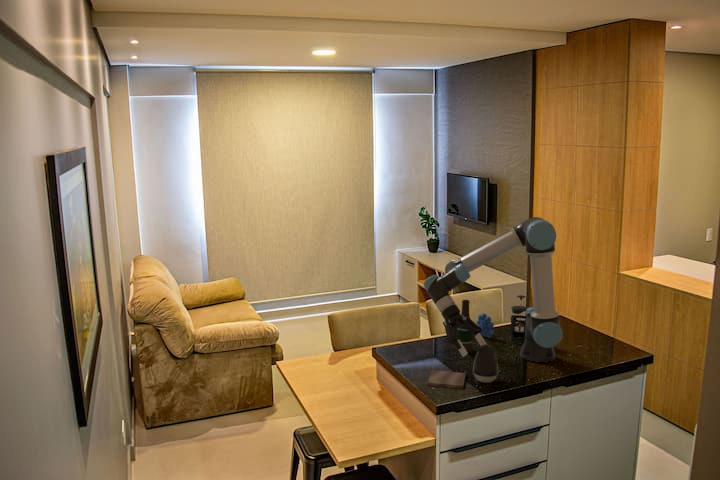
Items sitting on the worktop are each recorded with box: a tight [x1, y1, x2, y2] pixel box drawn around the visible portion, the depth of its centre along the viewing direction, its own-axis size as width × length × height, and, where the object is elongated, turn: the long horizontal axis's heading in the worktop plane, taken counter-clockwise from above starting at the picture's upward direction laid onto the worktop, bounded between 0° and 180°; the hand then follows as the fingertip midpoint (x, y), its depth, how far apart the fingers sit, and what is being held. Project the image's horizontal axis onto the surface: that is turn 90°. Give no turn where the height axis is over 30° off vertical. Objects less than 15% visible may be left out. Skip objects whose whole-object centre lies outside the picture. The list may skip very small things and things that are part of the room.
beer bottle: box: [455, 299, 474, 353], centre depth 283 cm, size 8×8×24 cm
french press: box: [509, 294, 530, 343], centre depth 296 cm, size 12×9×23 cm
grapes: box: [476, 312, 495, 339], centre depth 303 cm, size 12×7×12 cm, turn 32°
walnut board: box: [427, 369, 467, 390], centre depth 247 cm, size 14×14×1 cm
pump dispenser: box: [472, 343, 499, 384], centre depth 246 cm, size 10×10×15 cm
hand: (475, 351), depth 248 cm, fingers open, 13 cm apart
